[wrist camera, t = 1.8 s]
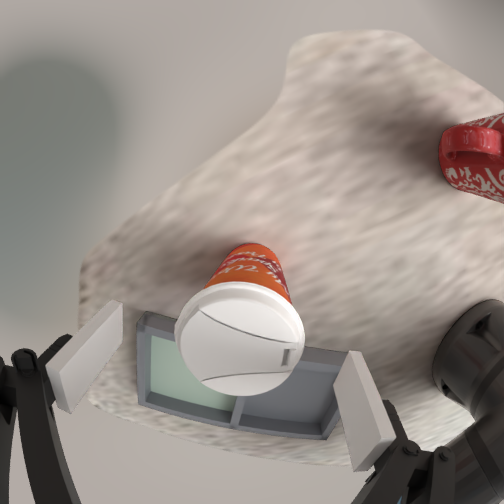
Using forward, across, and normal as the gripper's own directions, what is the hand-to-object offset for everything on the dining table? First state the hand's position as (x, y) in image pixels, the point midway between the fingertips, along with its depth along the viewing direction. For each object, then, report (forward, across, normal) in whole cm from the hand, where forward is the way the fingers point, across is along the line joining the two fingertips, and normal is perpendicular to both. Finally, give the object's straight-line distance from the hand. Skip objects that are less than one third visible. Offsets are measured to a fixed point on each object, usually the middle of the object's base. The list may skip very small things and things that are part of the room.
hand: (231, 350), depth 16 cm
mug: (+14, -18, -17) cm, 29 cm away
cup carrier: (+14, -2, +14) cm, 20 cm away
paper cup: (+14, 0, 0) cm, 14 cm away
